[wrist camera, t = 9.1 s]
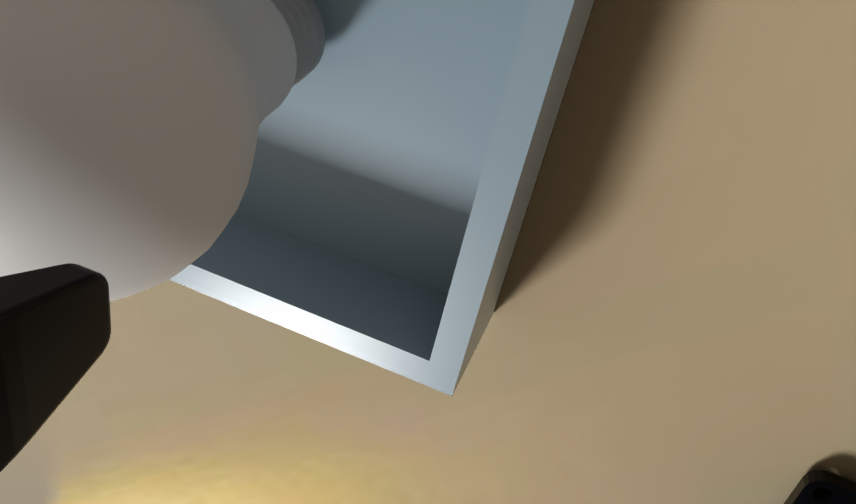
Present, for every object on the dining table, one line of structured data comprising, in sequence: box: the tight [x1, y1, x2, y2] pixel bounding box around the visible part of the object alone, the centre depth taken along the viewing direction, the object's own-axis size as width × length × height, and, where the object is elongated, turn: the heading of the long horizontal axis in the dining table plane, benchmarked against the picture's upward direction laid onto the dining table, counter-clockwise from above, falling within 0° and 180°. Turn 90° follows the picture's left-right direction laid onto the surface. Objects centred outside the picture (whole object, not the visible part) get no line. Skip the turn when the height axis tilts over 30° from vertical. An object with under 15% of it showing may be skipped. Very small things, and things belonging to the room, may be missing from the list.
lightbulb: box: [0, 0, 325, 301], centre depth 14 cm, size 6×6×11 cm
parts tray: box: [169, 0, 595, 396], centre depth 18 cm, size 14×14×4 cm
